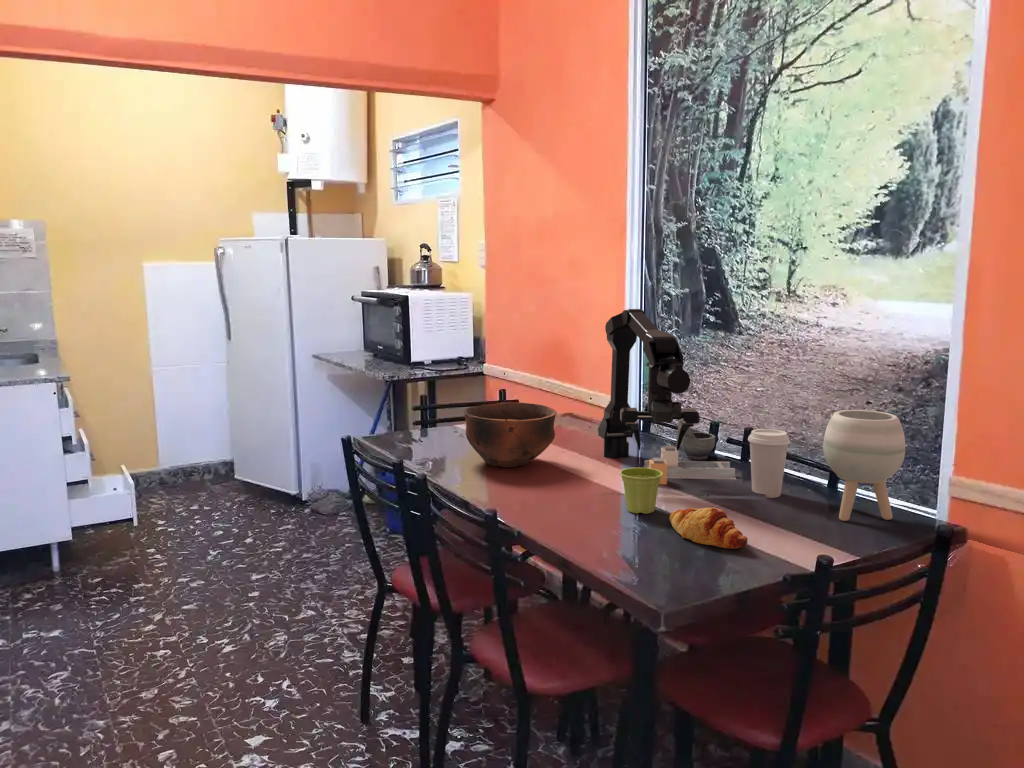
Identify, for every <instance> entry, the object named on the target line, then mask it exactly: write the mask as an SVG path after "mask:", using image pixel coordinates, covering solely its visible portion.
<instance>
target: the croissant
mask: <svg viewBox="0 0 1024 768" xmlns="http://www.w3.org/2000/svg"><path fill="white" fill-rule="evenodd" d="M669 521H670V523H671V526H672V528H673V529H674V530H675V531H676V533H677V534H679V535H680V536H681V538H683V539H686V540H689V541H690V540H691V542H693V543H697V544H701V545H706V546H714V547H717V548H721V549H727V550H728V549H731V550H736V549H739V548H744V547H746V546H747V544H748V540H749V538H748V537H747V536H746V535H743V533H742V531H740V529H738V528H737V527H736V524H735V523H734V520H732V519H730V518H728V515H727V514H726V512H725V511H724V510H722V509H721V508H720V509H719V508H717V507H715V506H714V507H702V508H696V507H695V508H694V507H689V508H685V509H677V510H675V511H672V512H671V513H670V515H669Z"/></svg>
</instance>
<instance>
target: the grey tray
mask: <svg viewBox="0 0 1024 768" xmlns="http://www.w3.org/2000/svg"><path fill="white" fill-rule="evenodd" d="M649 460H650V459H648V460H647V459H646V460H644V461H643V462H644V464H643V468H649ZM667 479H693V480H695V479H697V480H699V479H700V480H702V479H703V480H705V479H706V480H737V478H736V469H735V468H734V467H731V462H730V461H715V460H714V461H708V460H707V461H706V460H705V461H703V460H702V461H701V460H698V461H697V460H678V467H667Z"/></svg>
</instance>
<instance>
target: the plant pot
mask: <svg viewBox="0 0 1024 768" xmlns="http://www.w3.org/2000/svg"><path fill="white" fill-rule="evenodd" d="M619 475H620V476H621V480H622V481H623V489H624V497H625V506H626V510H627V511H628V512H629V513H633V514H639V513H642V514H647V515H648V514H651V513H654V512H655V509H656V503H657V498H658V497H657V496H658V490H659V485H660V484H659V482H660V479H661V477H662V475H663V473H662V472H661V471H659V470H656V469H651V468H644V467H629V468H623V469H621V470H620V471H619Z"/></svg>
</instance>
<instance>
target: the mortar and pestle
mask: <svg viewBox="0 0 1024 768" xmlns="http://www.w3.org/2000/svg"><path fill="white" fill-rule="evenodd" d="M678 422H679V420H678V421H677V423H678ZM715 444H716V435H714V434H712V433H708V432H703V431H700V432H699V431H693V430H692V427H689V428H688V430H687V431H686V433H685V435H684V437H683V439H682V442H681V445H680V448H681V450H682V452H684V453H685V456H684V457H685V458H687V459H691V460H706V459H708V455H709V454H710V453H711V452H712V451H713V449H714V447H715Z"/></svg>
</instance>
